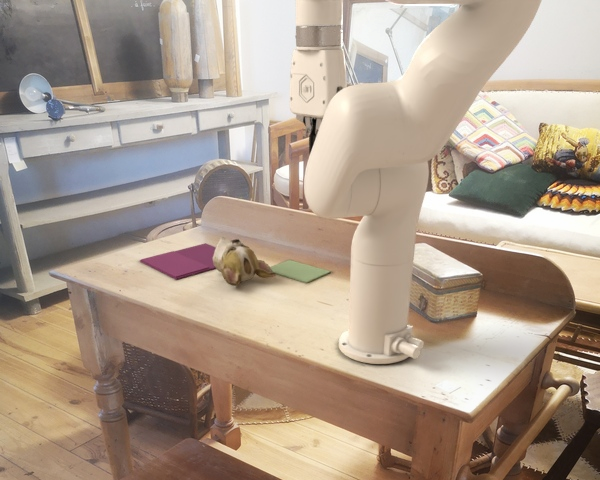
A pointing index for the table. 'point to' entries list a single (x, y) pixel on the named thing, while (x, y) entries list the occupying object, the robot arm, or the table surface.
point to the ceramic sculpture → (238, 262)
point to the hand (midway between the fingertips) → (318, 158)
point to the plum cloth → (183, 261)
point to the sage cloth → (298, 271)
